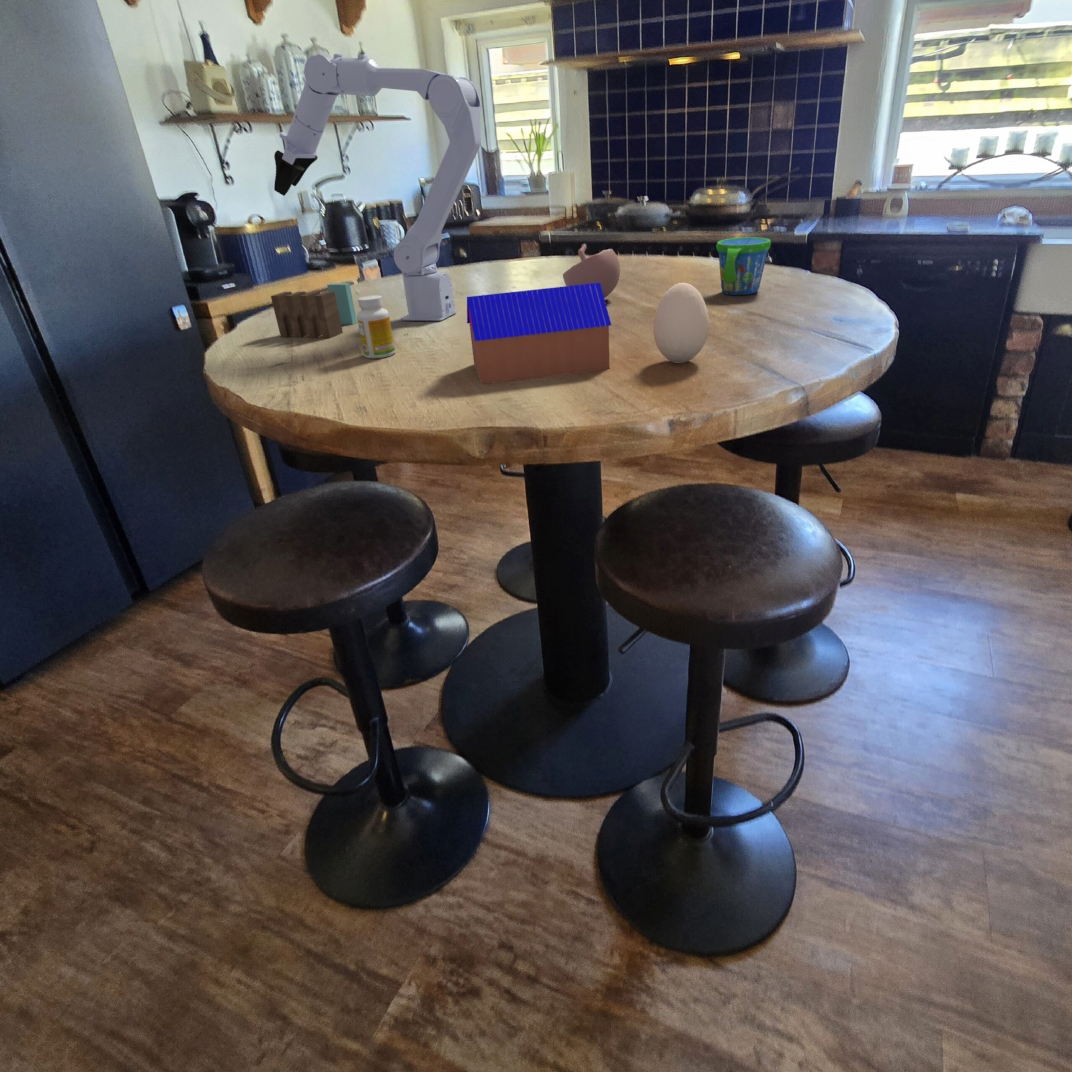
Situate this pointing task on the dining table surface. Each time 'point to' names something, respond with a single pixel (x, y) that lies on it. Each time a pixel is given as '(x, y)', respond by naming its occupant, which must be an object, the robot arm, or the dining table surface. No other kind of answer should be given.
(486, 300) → the house
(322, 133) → the robot arm
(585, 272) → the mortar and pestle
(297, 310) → the tile
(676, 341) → the egg
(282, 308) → the tile
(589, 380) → the dining table surface
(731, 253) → the snack cup
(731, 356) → the dining table surface
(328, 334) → the tile
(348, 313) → the teal tile
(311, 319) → the tile
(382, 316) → the supplement bottle
